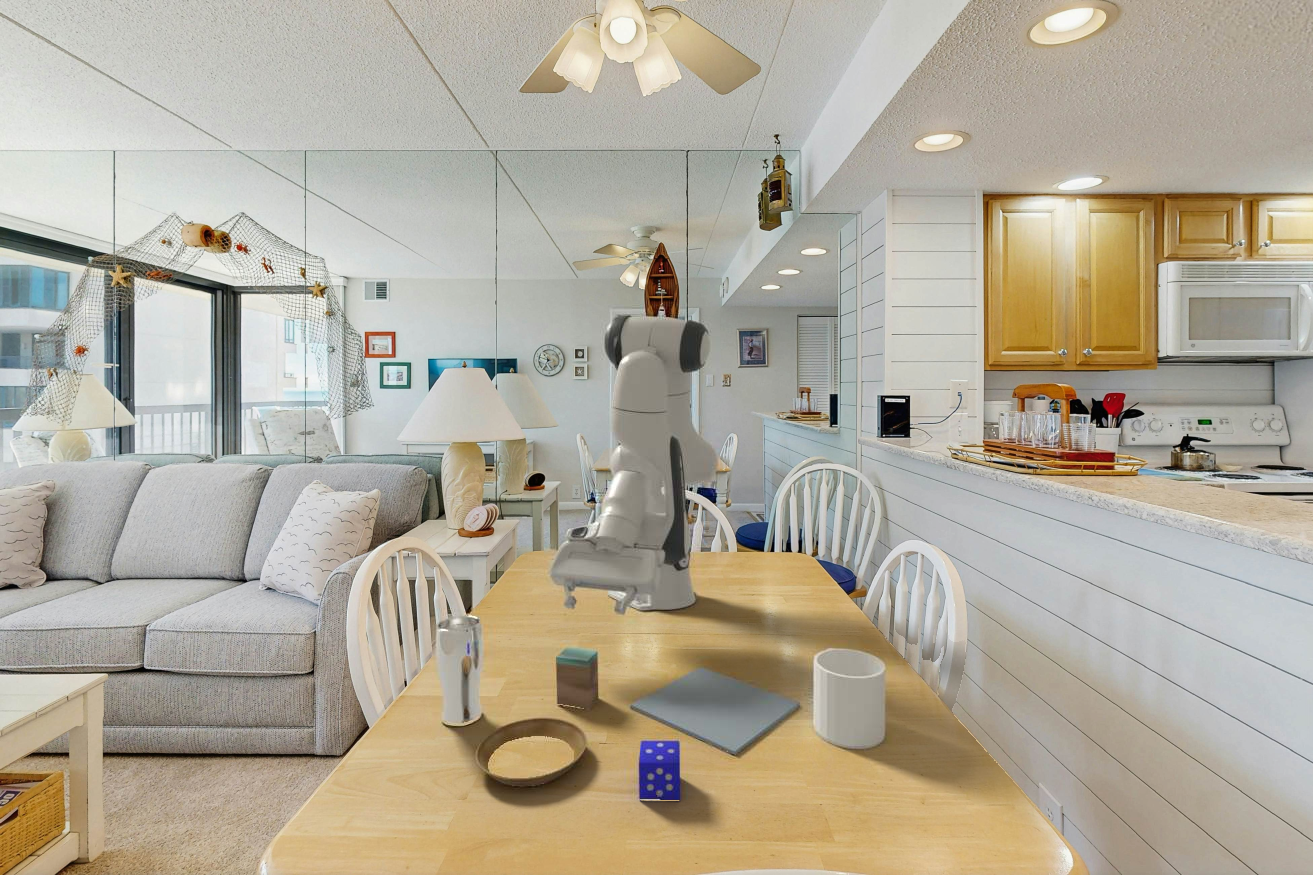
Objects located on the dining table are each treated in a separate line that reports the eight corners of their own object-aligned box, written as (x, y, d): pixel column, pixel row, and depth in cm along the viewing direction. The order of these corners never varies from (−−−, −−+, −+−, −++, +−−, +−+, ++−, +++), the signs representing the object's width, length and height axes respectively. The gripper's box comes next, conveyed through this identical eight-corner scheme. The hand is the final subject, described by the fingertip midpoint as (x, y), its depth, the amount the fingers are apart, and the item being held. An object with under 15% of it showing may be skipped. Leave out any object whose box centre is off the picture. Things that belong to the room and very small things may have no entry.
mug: (898, 747, 86) (898, 675, 85) (829, 752, 85) (829, 680, 84) (858, 703, 98) (858, 640, 98) (797, 707, 97) (797, 644, 97)
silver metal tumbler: (494, 709, 98) (491, 617, 97) (467, 732, 91) (463, 633, 90) (457, 703, 100) (454, 612, 99) (428, 724, 93) (424, 628, 92)
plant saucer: (484, 811, 74) (483, 790, 74) (469, 748, 87) (469, 730, 87) (601, 779, 80) (601, 760, 80) (570, 725, 93) (570, 708, 93)
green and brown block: (567, 693, 103) (566, 647, 102) (598, 698, 101) (597, 650, 101) (557, 705, 99) (556, 656, 98) (588, 710, 97) (587, 660, 97)
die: (641, 777, 80) (640, 739, 80) (679, 777, 80) (679, 739, 79) (639, 802, 75) (638, 762, 75) (680, 802, 75) (679, 762, 74)
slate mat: (630, 708, 98) (630, 704, 98) (700, 670, 111) (700, 666, 111) (734, 755, 84) (734, 751, 84) (799, 705, 98) (799, 702, 98)
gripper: (670, 555, 115) (654, 624, 106) (569, 547, 120) (546, 612, 112) (664, 536, 110) (646, 607, 101) (559, 529, 116) (535, 595, 107)
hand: (593, 609), depth 106 cm, fingers open, 8 cm apart
